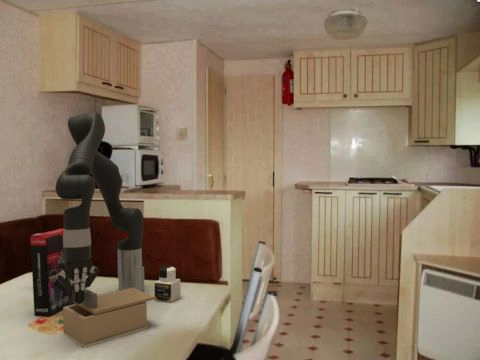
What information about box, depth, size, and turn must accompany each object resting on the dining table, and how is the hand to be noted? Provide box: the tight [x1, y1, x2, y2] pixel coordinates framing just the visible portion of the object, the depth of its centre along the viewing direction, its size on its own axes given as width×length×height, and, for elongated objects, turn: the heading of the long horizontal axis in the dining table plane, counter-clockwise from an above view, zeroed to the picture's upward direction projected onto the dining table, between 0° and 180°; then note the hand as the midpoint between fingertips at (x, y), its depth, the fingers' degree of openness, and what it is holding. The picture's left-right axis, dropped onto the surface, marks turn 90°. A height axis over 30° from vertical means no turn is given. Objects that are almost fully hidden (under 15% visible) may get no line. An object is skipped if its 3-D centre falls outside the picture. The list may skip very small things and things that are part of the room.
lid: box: [73, 288, 156, 315], centre depth 134 cm, size 20×14×5 cm
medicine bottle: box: [154, 265, 182, 304], centre depth 162 cm, size 7×7×12 cm
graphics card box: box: [29, 227, 74, 317], centre depth 152 cm, size 17×7×27 cm, turn 168°
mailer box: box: [62, 302, 148, 348], centre depth 131 cm, size 20×14×8 cm
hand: (78, 303), depth 126 cm, fingers closed
